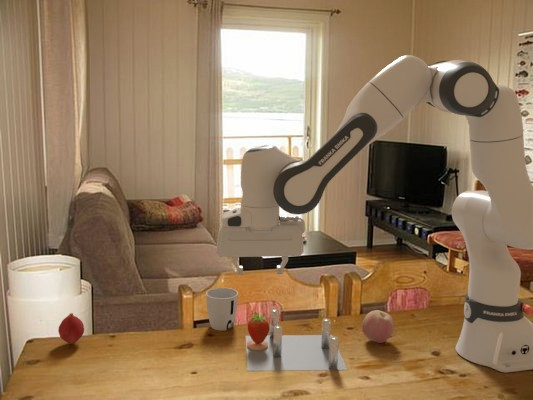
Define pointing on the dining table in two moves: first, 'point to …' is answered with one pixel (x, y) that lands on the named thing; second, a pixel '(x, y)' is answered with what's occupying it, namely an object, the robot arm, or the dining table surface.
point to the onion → (71, 329)
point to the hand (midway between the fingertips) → (259, 273)
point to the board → (292, 355)
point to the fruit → (258, 328)
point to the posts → (326, 343)
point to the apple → (378, 326)
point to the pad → (257, 345)
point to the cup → (222, 307)
